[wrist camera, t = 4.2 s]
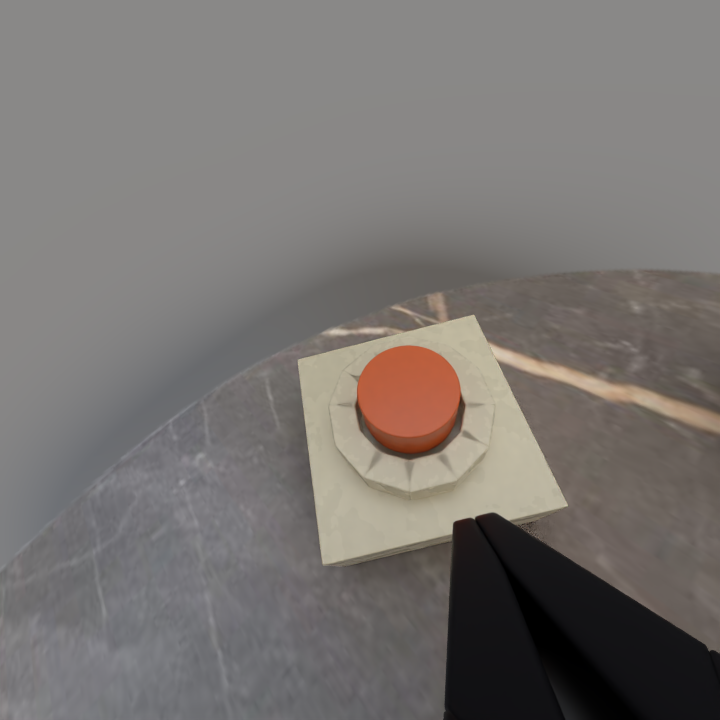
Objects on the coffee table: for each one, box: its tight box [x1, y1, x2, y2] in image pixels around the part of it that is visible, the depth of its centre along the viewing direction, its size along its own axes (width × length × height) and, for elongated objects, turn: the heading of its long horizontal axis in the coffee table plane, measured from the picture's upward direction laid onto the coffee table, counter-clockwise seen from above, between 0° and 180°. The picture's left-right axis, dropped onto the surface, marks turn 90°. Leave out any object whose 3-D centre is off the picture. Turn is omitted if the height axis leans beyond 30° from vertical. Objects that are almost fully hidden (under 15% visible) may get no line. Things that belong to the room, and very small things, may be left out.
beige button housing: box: [298, 315, 568, 567], centre depth 18 cm, size 10×10×6 cm
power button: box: [357, 345, 461, 454], centre depth 14 cm, size 4×4×2 cm
